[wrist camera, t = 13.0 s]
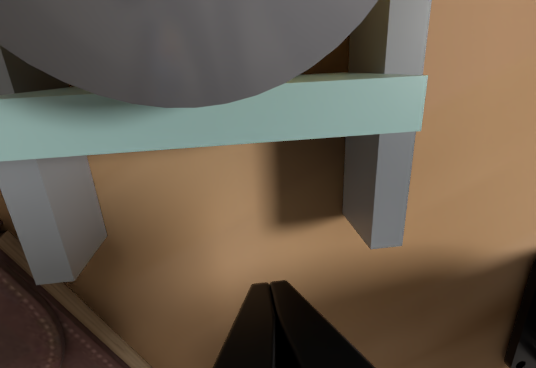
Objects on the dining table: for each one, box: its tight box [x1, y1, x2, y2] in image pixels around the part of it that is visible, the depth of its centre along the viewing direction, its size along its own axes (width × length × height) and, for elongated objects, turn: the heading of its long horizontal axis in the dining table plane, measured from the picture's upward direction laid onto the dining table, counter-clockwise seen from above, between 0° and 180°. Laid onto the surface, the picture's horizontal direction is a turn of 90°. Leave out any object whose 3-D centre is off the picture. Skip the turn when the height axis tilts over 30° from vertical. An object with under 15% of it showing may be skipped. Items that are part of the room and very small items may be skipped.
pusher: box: [0, 72, 428, 161], centre depth 8 cm, size 1×8×4 cm, turn 93°
